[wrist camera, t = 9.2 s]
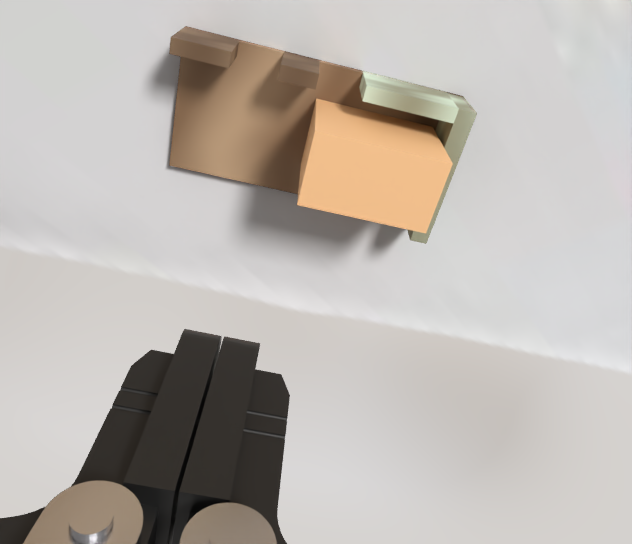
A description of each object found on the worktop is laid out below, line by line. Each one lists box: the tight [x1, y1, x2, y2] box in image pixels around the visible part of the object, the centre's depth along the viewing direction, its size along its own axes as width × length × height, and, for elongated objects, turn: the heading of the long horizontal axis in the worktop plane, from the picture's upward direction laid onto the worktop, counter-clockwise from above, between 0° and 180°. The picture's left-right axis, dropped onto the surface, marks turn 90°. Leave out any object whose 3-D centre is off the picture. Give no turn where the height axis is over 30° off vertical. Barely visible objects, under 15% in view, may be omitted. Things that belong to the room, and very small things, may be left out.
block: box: [297, 99, 453, 233], centre depth 31 cm, size 7×4×6 cm, turn 77°
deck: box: [169, 26, 477, 244], centre depth 32 cm, size 16×8×4 cm, turn 77°
